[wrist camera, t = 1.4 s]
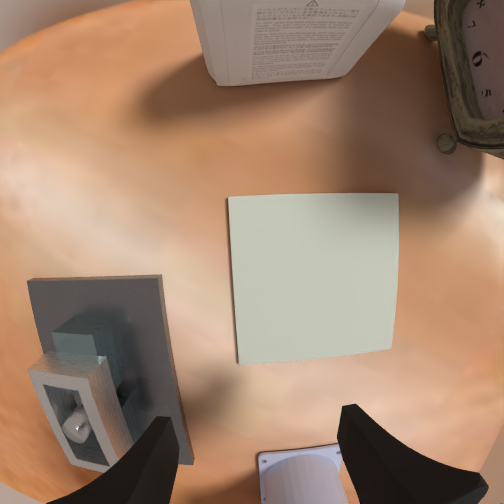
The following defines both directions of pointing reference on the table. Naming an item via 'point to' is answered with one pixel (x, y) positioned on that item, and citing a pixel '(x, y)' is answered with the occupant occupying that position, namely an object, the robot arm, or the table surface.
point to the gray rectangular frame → (95, 403)
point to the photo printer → (287, 37)
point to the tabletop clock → (472, 72)
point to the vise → (115, 346)
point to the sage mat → (313, 274)
